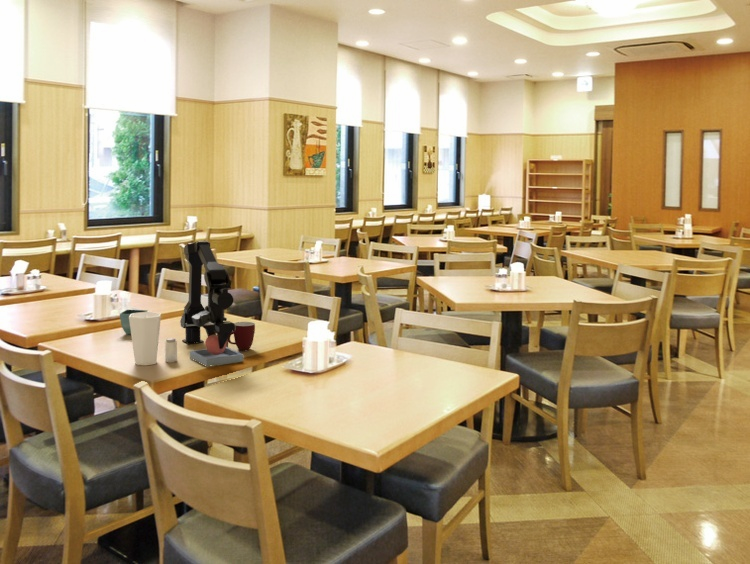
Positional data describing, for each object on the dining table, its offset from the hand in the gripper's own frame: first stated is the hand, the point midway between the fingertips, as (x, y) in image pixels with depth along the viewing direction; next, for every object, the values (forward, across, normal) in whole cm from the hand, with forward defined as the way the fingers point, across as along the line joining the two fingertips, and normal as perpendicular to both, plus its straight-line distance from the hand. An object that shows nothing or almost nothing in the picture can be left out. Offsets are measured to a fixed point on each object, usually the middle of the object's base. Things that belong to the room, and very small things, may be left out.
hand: (216, 346), depth 257 cm
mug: (+5, -8, +14) cm, 17 cm away
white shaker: (+5, -7, -14) cm, 16 cm away
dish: (+5, 0, 0) cm, 5 cm away
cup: (+5, -9, -22) cm, 25 cm away
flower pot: (+5, -55, -10) cm, 56 cm away
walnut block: (+5, -13, +8) cm, 16 cm away
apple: (+3, 0, 0) cm, 3 cm away
